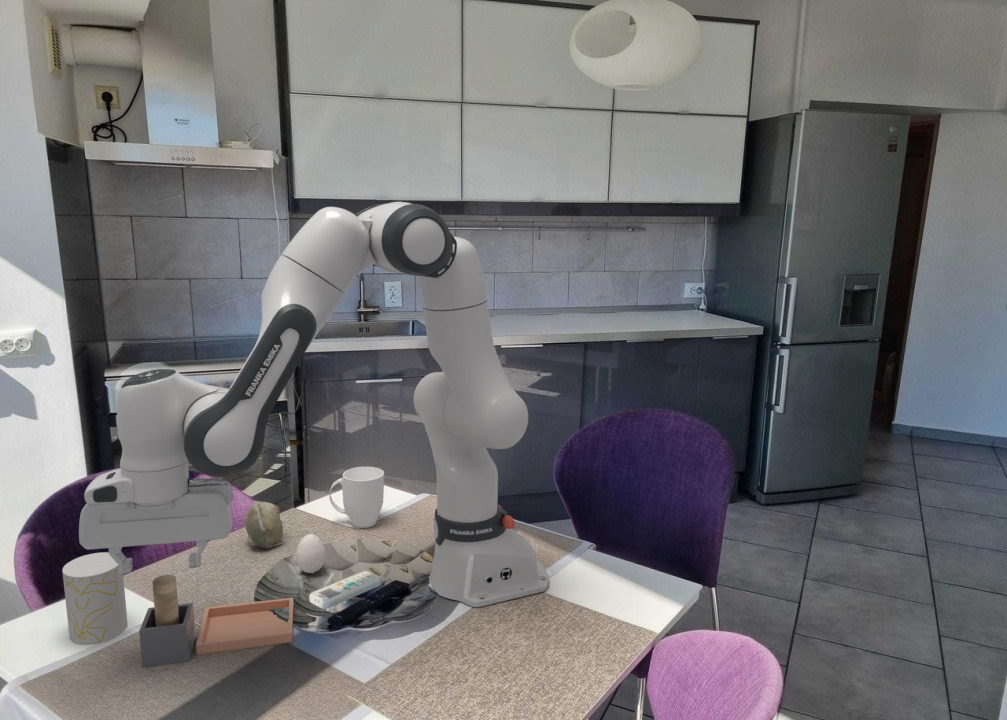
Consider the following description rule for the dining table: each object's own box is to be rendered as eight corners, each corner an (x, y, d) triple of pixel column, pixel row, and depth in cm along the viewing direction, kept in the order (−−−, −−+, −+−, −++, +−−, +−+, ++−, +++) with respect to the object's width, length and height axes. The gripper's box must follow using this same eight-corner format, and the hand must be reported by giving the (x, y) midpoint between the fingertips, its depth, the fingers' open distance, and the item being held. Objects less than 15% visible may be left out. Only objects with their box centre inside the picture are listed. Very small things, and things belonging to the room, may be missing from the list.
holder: (195, 640, 113) (193, 602, 112) (189, 665, 107) (186, 625, 106) (151, 646, 111) (148, 607, 110) (142, 671, 105) (139, 630, 104)
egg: (308, 582, 132) (307, 543, 130) (290, 573, 135) (289, 535, 133) (331, 571, 136) (330, 534, 134) (313, 563, 139) (312, 526, 138)
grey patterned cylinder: (62, 651, 110) (54, 579, 107) (78, 622, 117) (71, 555, 115) (121, 644, 112) (114, 573, 109) (132, 616, 119) (127, 550, 117)
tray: (293, 608, 123) (293, 597, 122) (292, 645, 112) (291, 633, 112) (206, 618, 119) (205, 607, 119) (196, 657, 109) (196, 645, 108)
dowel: (182, 644, 111) (177, 573, 109) (179, 656, 108) (173, 584, 106) (160, 647, 110) (154, 576, 108) (156, 659, 107) (150, 586, 105)
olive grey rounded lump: (264, 563, 143) (255, 528, 138) (235, 547, 147) (226, 511, 142) (298, 534, 150) (291, 499, 145) (270, 519, 154) (262, 484, 149)
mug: (385, 514, 162) (385, 465, 159) (383, 532, 154) (382, 480, 151) (333, 515, 161) (332, 465, 158) (327, 533, 152) (326, 481, 150)
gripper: (234, 469, 109) (237, 553, 112) (84, 477, 104) (91, 565, 106) (229, 484, 103) (233, 572, 106) (71, 493, 98) (79, 586, 100)
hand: (161, 569), depth 106 cm, fingers open, 8 cm apart
